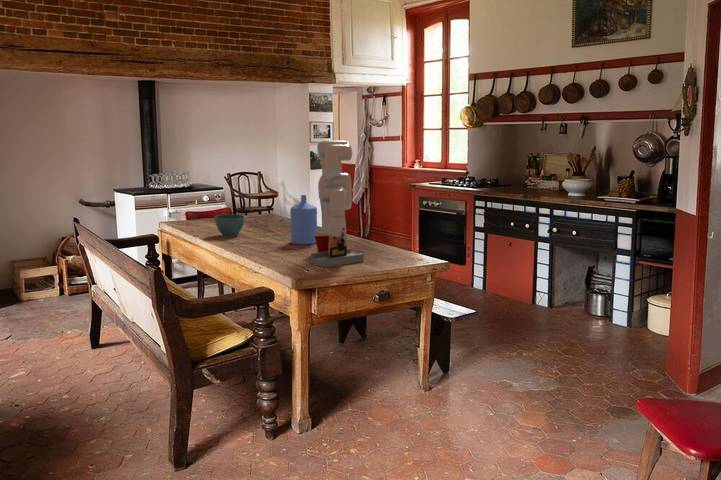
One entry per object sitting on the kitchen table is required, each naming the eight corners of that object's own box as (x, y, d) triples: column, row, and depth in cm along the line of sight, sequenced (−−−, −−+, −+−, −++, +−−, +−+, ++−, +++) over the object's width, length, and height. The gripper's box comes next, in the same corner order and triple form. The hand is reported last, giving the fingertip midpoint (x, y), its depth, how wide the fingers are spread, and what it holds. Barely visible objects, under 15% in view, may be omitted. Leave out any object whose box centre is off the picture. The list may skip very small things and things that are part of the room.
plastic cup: (323, 252, 356) (323, 231, 354) (338, 255, 350) (338, 233, 348) (309, 255, 348) (309, 233, 346) (324, 258, 341) (324, 235, 339)
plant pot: (248, 233, 420) (247, 214, 418) (240, 238, 402) (239, 218, 400) (220, 233, 422) (219, 214, 420) (211, 237, 404) (210, 218, 402)
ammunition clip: (329, 258, 327) (329, 234, 325) (327, 257, 328) (327, 233, 326) (347, 255, 333) (347, 232, 331) (344, 255, 335) (344, 231, 333)
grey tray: (311, 263, 328) (310, 253, 328) (349, 257, 343) (349, 248, 342) (324, 267, 319) (324, 257, 318) (363, 261, 334) (363, 251, 333)
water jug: (313, 245, 379) (312, 197, 375) (287, 244, 382) (286, 196, 378) (320, 240, 394) (320, 194, 390) (295, 239, 398) (294, 193, 393)
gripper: (321, 212, 331) (321, 248, 334) (341, 216, 318) (341, 253, 321) (333, 211, 336) (333, 246, 339) (353, 215, 323) (353, 251, 326)
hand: (337, 249), depth 330 cm, fingers open, 5 cm apart
